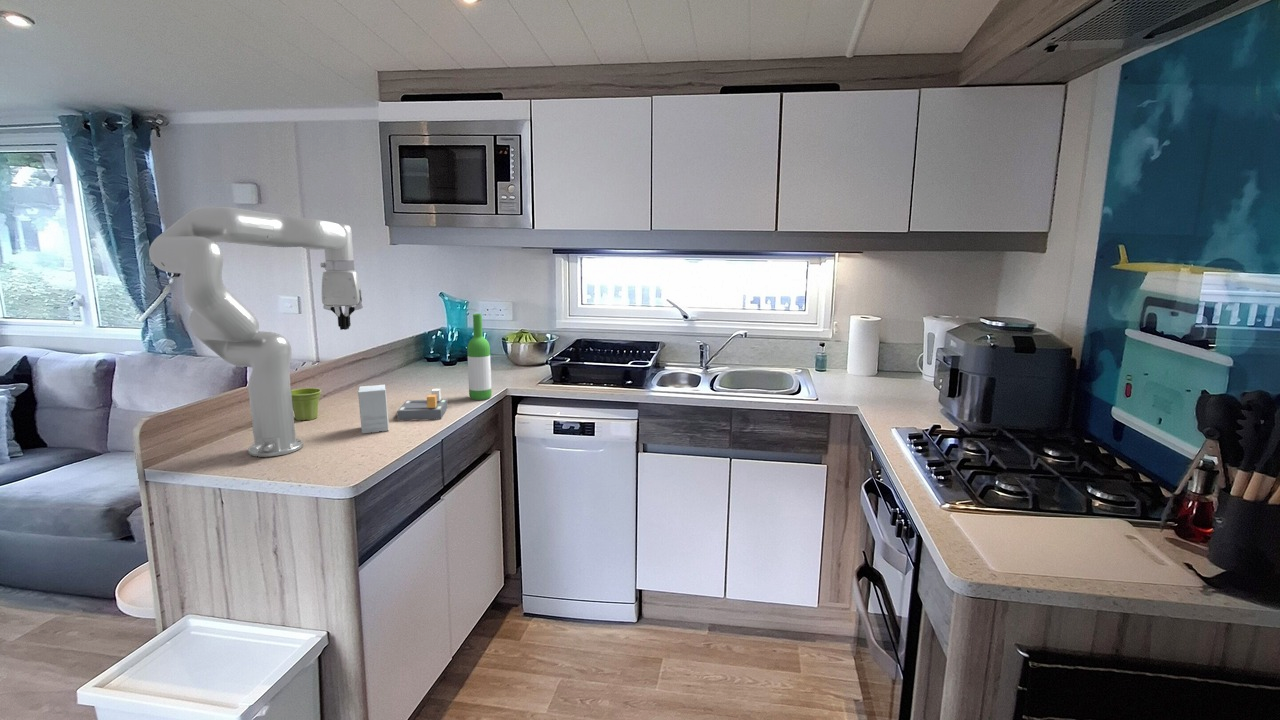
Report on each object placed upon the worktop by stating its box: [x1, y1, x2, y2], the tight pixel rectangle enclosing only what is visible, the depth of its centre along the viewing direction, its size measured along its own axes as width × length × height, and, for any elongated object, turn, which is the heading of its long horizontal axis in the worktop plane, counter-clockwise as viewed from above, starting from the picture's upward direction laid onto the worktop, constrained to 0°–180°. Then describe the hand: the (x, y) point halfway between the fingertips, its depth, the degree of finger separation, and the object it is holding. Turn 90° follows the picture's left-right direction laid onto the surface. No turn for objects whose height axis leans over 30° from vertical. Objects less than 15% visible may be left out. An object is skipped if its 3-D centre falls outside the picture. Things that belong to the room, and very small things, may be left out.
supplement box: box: [357, 384, 389, 434], centre depth 183 cm, size 7×7×13 cm
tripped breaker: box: [426, 394, 437, 408], centre depth 196 cm, size 3×2×4 cm
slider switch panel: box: [396, 398, 449, 421], centre depth 200 cm, size 13×13×3 cm
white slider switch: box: [430, 388, 442, 401], centre depth 204 cm, size 3×2×4 cm
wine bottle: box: [466, 313, 492, 401], centre depth 218 cm, size 8×8×30 cm
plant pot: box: [291, 387, 322, 421], centre depth 193 cm, size 9×9×9 cm
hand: (344, 328), depth 185 cm, fingers closed
